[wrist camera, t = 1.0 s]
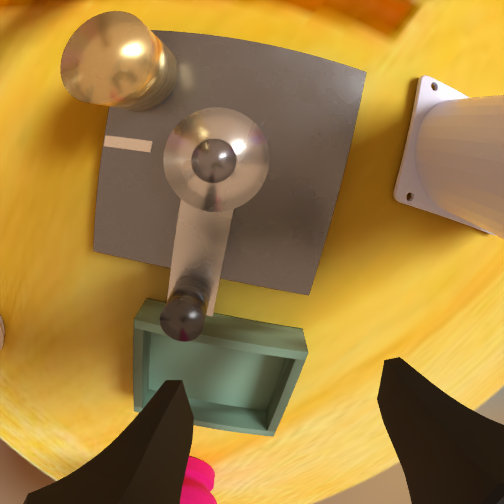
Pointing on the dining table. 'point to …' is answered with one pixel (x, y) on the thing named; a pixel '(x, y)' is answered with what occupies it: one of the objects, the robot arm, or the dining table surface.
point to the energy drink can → (1, 333)
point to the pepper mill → (198, 483)
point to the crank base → (280, 158)
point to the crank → (207, 207)
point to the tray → (221, 369)
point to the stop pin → (118, 63)
